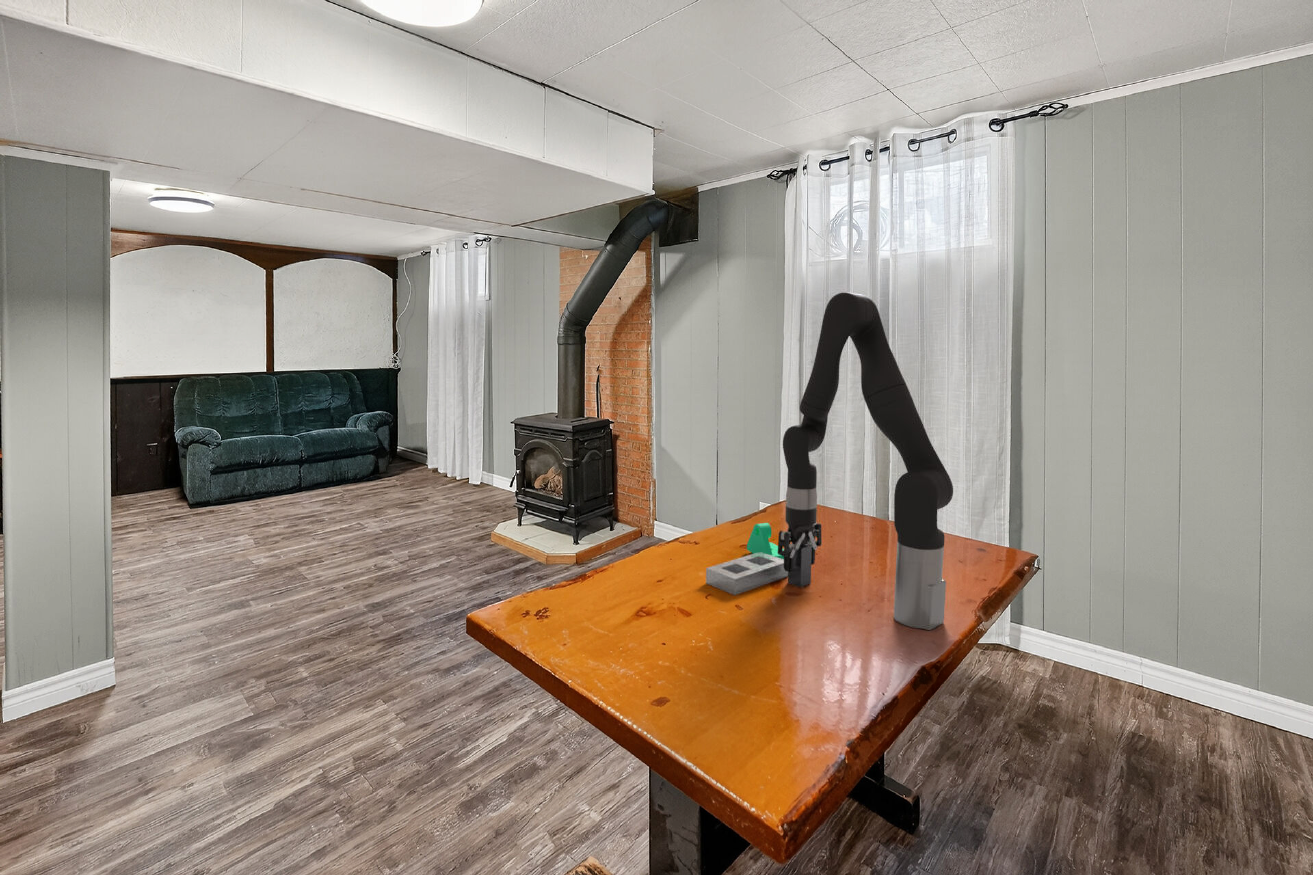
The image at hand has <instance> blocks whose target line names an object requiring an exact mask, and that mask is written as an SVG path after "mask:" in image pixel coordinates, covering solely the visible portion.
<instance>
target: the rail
mask: <svg viewBox="0 0 1313 875" xmlns="http://www.w3.org/2000/svg"><path fill="white" fill-rule="evenodd" d="M705 569H706V570H705V584H706V583H707V584H706V585H709V586H711V585H712V587H714V588H716V587H717V588H716V589H719V590H721V591H724V592H726V593H728V594H731V595H733V596H737V595H739V594H742V593H745V592H748V591H751V590H753V589H756V588H759V587H762V586H764V585H767V584H771V583H772V582H776V581H778V580H781V579H785V578H788V571H785V570H784V559H780V558H777V557H774V556H771V555H768V554H765V553H762V552H758V553H754V554H753V553H752V554H748V555H745V556H742V557H739V558H736V559H732V560H729V561H726V562H722V563H719V564H715V565H712V566H708V567H706V568H705Z"/></svg>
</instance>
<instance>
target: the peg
mask: <svg viewBox="0 0 1313 875" xmlns="http://www.w3.org/2000/svg"><path fill="white" fill-rule="evenodd" d="M791 544H792V543H791ZM792 545H794V544H792ZM790 551H791V548H790V549H789V552H790ZM811 555H812V545H809V544H803V545H801V546H799V548H798V550H796V551H795V553H794V555H793V571H792V572H788V576H787V584H790V585H792V586H795V587H798V588H800V589H801V588H803V587H804V588H805V587H806V586H808V585H811V584H812V565H811Z"/></svg>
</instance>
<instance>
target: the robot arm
mask: <svg viewBox="0 0 1313 875" xmlns="http://www.w3.org/2000/svg"><path fill="white" fill-rule="evenodd" d="M823 313H824V314H823V317H822V322H821V327H820V333H819V339H818V341H817V342H818V343H817V348H816V352H815V353H816V354H815V357H814V360H813V361H814V362H813V366H812V370H811V372H810V376H809V378H808V382H807V384H806V387H805V390H804V393H803V396H802V399H801V401H800V403H799V411H800V413H801V414H802V415H803V417H802V420H801V423H800V424H795V425H792V426H790V427H788V428H787V429H786V431H785V432H784V435H783V437H782V450H783V455H784V459H785V460H784V462H785V465H786V468H787V484H786V485H787V487H786V494H785V523H787V526H788V528H787V530H785V531H783V530H779V532H778V540H777V541H778V542H777V546H778V554H779V555H782V556H784V570H785V571H788V572H792V571H793V555H794V553H795V551H796V550H798V548H799V546H801V545H803V544H809V545H812V555H811V566H813V565H815V562H816V550H817V549H818V547H821V546H822V542H823V541H822V524H821V523H818V522H817V513H818V512H817V510H818V491H817V483H818V482H817V480H818V479H817V478H818V475H817V466H816V465H815V464H814V463H813V462H812V463H811V461H810V456H809V455H810V454H809V453H812V452H815V451H816V450H818V449H819V448H820V447H821V445H822V444H823V442H824V440H825V438H826V437H825V436H826V434H827V433H826V431H827V425H828V418H829V413H830V411H831V408H832V406H833V403H834V400H835V397H836V395H837V392H838V388H839V383H840V365H841V358H842V353H843V350H844V348H845V345H846V343H847V341H848V339H849V338H850V339H851V341H852V344H853V345H854V347H855V349H856V351H857V355H858V357H859V362H860V383H861V392H862V396H863V399H864V402H865V405H866V408H867V409H868V412H869V414H870V416H871V418H872V420H873V422H874V423H875V425H876V427H878V429H879V430H880V431H881V433H882V434H883V435H884V436H885V437H886V438H887V439H888V440H889V441H890V443H891V444H892V445H893V447H894V448H896V450H897V452H898V453H899V455H900V457H901V459H902V461H903V464H904V467H905V469H906V472H905V473H904V474H902V475H901V476H899V478H898V480H897V482H896V484H895V487H894V496H893V497H894V499H893V500H894V501H893V511H894V512H893V513H894V514H893V515H894V516H893V519H894V522H893V523H894V525H893V526H894V529H895V531H896V535H897V539H896V540H897V541H896V559H895V560H896V561H895V578H894V579H895V584H894V600H893V602H894V604H893V619H894V620H895V621H896V622H897V623H900V624H901V625H904V626H907V627H909V628H915V629H922V630H923V629H924V630H928V631H931V630H933V629H935V628H937V627H939V626H940V625H942V624H944V622H945V621H944V620H945V606H946V603H945V602H946V592H947V591H946V589H947V581H946V580H945V579H943V571H944V570H943V567H944V550H945V534H944V532H943V530H941V529H939V527H938V511H939V510H940V509H943V508H944V507H947V505H949V504H950V502H951V501H952V499H953V495H954V485H953V481H952V480H951V477H950V475H949V473H948V472H947V469H946V468H945V465H944V464H943V462H942V461H941V459H940V457H939V455H938V454H937V452H936V450H935V447H934V446H933V445H932V443H931V441H930V438H929V436H928V433H927V431H926V429H925V426H924V424H923V421H922V419H921V417H920V414H919V412H918V410H917V407H916V405H915V403H914V399H913V396H912V395H911V392H910V390H909V388H908V385H907V383H906V380H905V378H904V377H903V375H902V372H901V370H900V367H899V366H898V362H897V361H896V358H895V356H894V354H893V351H892V350H891V346H890V344H889V342H888V339H887V335H886V332H885V328H884V326H883V322H882V318H881V316H880V312H879V309H878V307H877V305H876V303H875V302H874V300H873V299H872V298H870V296H867V295H865V294H861V293H854V292H847V291H846V292H845V291H844V292H839V293H836V294H835V295H833V296H832V297H831V298H830V300H829V301H828V303H827V304H826V307H825V310H824V312H823ZM792 544H794V545H792ZM790 548H791V551H790V552H789V549H790ZM782 549H784V550H782Z"/></svg>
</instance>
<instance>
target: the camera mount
mask: <svg viewBox="0 0 1313 875" xmlns="http://www.w3.org/2000/svg"><path fill="white" fill-rule="evenodd" d="M772 534H773V533H772V527H771V524H770V523H768V522H763V523H755V524H754V525H753V528H752V531H751V534H750V536H749V538H748V541H747V544H746V550H747V551H748V552H750V553H752V554H754V553H758V552H762V553H765V554H768V555H771V556H774V557H777V558H780V559H784V556H782V555H779V554H778V544H775V543H773V542H772V541H771V542H770V541H769V539H770V538H771V537H772ZM782 550H784V548H783V549H782Z"/></svg>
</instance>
